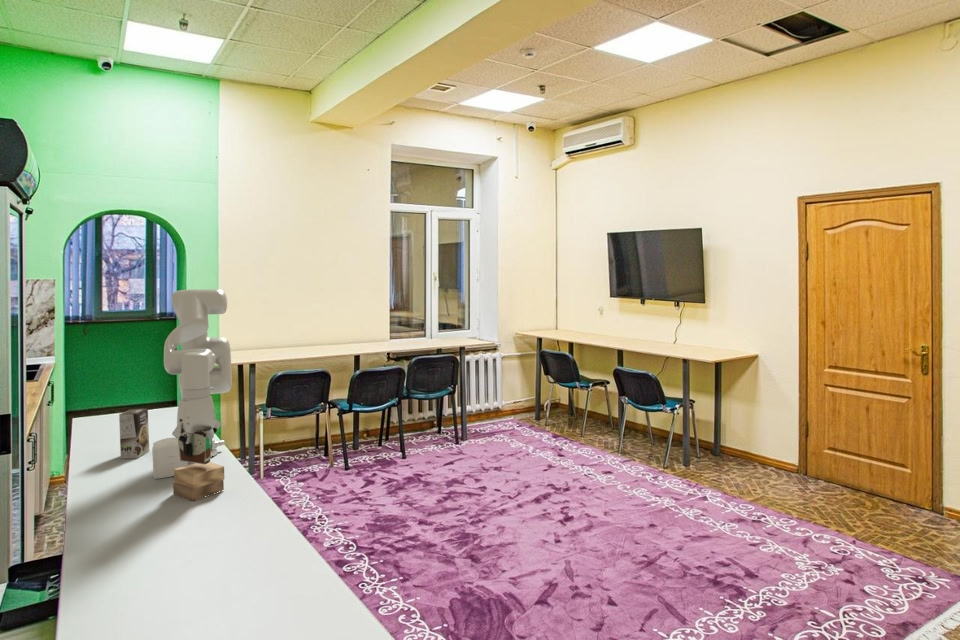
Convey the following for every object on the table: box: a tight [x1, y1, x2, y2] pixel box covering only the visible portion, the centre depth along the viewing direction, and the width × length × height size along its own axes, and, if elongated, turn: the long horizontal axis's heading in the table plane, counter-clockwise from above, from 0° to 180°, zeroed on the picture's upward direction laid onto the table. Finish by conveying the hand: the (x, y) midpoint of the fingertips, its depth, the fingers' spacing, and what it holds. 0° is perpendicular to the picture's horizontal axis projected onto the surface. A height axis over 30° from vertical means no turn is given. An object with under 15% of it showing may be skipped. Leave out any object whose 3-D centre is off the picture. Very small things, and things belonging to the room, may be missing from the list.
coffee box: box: [118, 408, 150, 459], centre depth 226 cm, size 9×6×16 cm
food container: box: [178, 427, 215, 464], centre depth 188 cm, size 12×6×10 cm, turn 70°
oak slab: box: [173, 461, 225, 489], centre depth 187 cm, size 10×10×4 cm
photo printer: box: [151, 437, 189, 480], centre depth 203 cm, size 10×4×12 cm, turn 123°
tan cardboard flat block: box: [172, 480, 225, 502], centre depth 187 cm, size 10×10×4 cm
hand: (198, 452), depth 187 cm, fingers closed on food container, 5 cm apart
